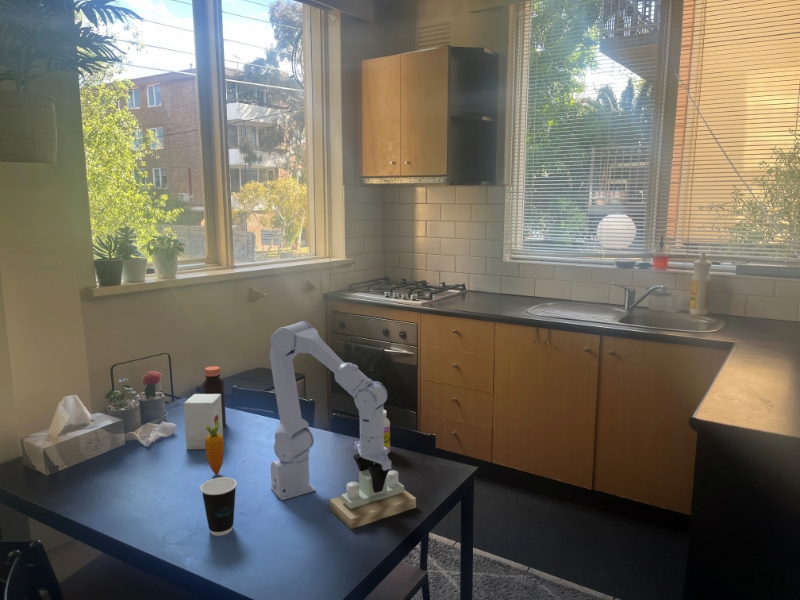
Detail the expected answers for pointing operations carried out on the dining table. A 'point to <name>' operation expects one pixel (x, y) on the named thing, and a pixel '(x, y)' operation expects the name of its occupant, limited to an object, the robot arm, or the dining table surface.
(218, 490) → the dixie cup
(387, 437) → the supplement bottle
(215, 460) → the carrot
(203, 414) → the supplement box
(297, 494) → the robot arm
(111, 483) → the dining table surface
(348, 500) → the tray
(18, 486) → the dining table surface
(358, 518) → the shelf board
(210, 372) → the vinegar
